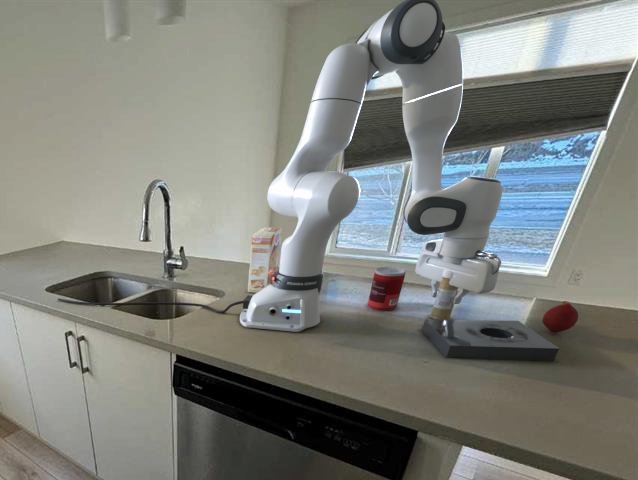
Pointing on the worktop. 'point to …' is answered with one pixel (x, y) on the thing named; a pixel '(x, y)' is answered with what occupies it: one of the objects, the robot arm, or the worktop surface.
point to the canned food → (386, 288)
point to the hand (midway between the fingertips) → (445, 300)
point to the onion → (560, 317)
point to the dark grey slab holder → (488, 340)
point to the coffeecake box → (263, 257)
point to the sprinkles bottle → (444, 298)
